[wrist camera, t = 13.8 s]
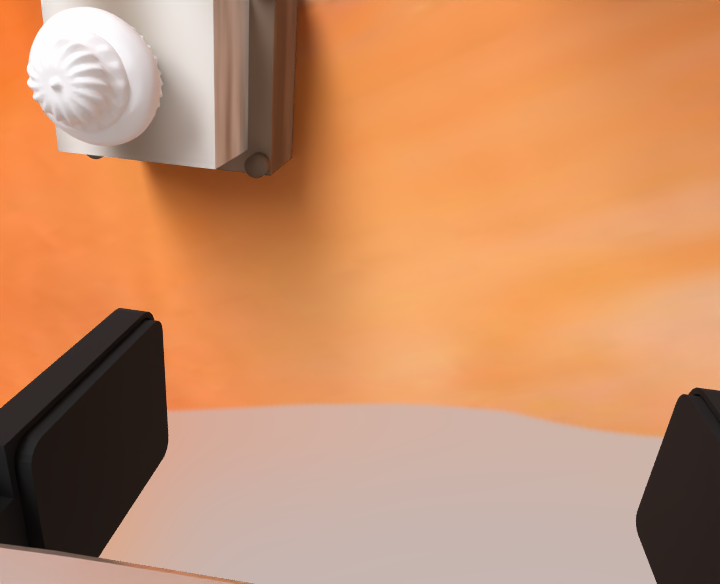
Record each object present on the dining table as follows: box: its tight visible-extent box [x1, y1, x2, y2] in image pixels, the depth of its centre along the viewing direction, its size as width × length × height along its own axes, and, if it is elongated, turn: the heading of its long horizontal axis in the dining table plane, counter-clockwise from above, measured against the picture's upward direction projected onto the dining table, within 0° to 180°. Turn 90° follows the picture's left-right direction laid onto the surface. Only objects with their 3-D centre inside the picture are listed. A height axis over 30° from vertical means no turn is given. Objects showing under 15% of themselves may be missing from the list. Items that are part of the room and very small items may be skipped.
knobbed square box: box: [41, 0, 298, 178], centre depth 37 cm, size 12×12×12 cm
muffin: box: [27, 7, 163, 146], centre depth 28 cm, size 6×6×7 cm
